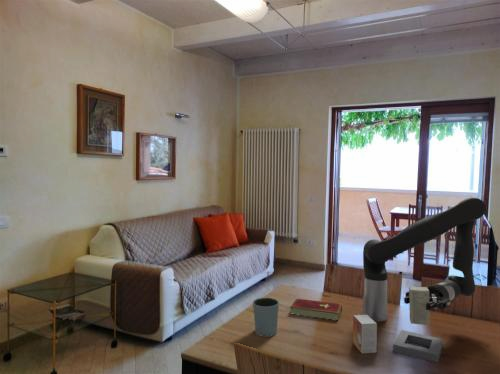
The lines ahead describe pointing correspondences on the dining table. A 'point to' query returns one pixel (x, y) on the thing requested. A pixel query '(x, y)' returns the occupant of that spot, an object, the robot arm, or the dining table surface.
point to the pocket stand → (415, 351)
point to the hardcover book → (316, 309)
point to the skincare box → (419, 305)
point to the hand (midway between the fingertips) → (416, 304)
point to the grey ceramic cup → (266, 316)
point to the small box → (364, 333)
